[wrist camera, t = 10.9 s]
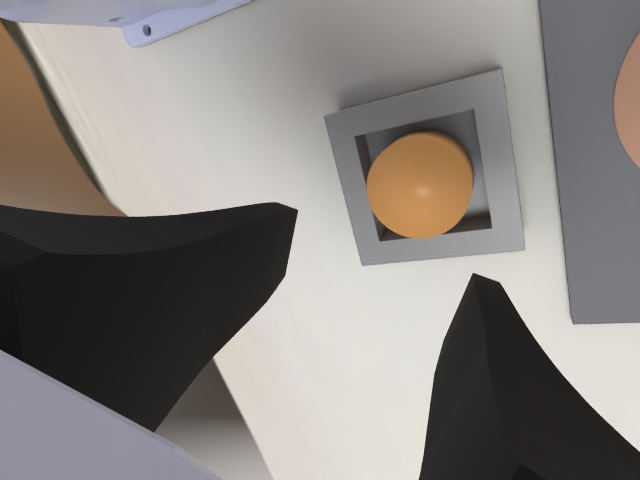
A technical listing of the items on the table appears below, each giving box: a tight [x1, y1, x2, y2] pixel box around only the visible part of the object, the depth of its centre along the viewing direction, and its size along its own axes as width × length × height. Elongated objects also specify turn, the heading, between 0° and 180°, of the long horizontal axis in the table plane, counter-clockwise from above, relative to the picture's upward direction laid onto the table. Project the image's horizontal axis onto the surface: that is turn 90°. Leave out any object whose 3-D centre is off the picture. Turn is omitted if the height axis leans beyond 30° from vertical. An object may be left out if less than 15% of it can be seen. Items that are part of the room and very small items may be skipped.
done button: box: [367, 130, 474, 239], centre depth 18 cm, size 4×4×2 cm
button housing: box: [324, 68, 525, 266], centre depth 19 cm, size 7×7×2 cm
